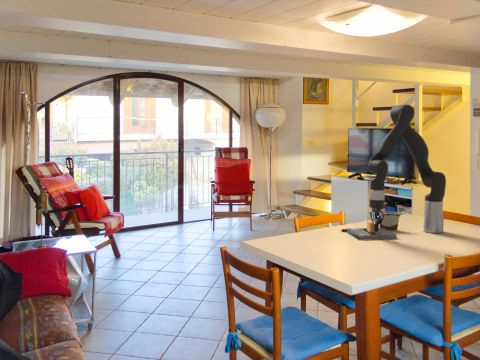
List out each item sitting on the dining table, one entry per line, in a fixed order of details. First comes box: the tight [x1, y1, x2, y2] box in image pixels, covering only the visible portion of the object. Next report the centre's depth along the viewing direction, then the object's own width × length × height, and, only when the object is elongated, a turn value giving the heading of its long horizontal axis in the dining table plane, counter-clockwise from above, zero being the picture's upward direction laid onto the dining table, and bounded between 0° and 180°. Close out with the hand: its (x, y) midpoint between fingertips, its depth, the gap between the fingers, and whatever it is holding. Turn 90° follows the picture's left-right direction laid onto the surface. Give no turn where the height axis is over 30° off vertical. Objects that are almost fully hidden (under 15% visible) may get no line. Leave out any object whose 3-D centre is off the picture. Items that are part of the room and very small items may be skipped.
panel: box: [346, 227, 398, 241], centre depth 252 cm, size 20×18×2 cm
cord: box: [346, 230, 359, 240], centre depth 250 cm, size 17×1×1 cm, turn 7°
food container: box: [379, 210, 401, 232], centre depth 266 cm, size 12×6×10 cm, turn 84°
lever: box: [366, 220, 375, 235], centre depth 251 cm, size 4×4×7 cm
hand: (376, 231), depth 246 cm, fingers closed
